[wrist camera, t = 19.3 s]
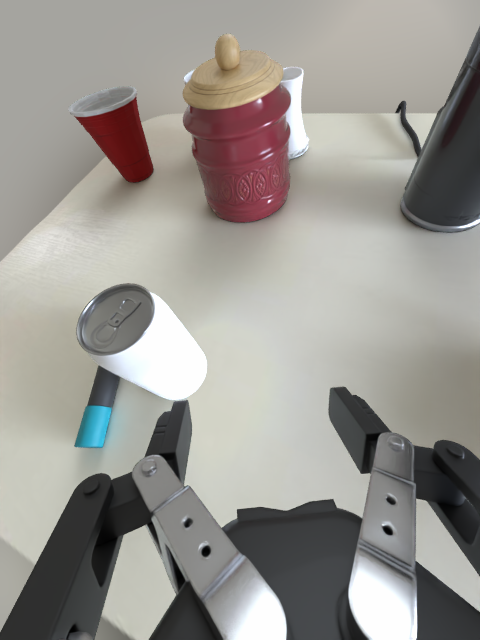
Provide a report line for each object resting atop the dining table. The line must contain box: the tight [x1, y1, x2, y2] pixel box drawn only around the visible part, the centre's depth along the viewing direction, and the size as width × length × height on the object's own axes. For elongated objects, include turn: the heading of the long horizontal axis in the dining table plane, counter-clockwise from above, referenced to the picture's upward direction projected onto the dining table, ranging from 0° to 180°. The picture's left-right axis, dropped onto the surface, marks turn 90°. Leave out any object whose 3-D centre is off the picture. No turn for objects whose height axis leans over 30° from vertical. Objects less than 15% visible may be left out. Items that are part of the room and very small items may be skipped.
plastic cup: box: [68, 86, 153, 182], centre depth 44 cm, size 11×11×12 cm
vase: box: [280, 67, 309, 159], centre depth 41 cm, size 8×8×10 cm
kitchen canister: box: [183, 34, 291, 222], centre depth 32 cm, size 13×13×18 cm
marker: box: [74, 366, 120, 448], centre depth 27 cm, size 15×2×2 cm, turn 0°
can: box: [76, 283, 207, 400], centre depth 22 cm, size 6×6×12 cm
